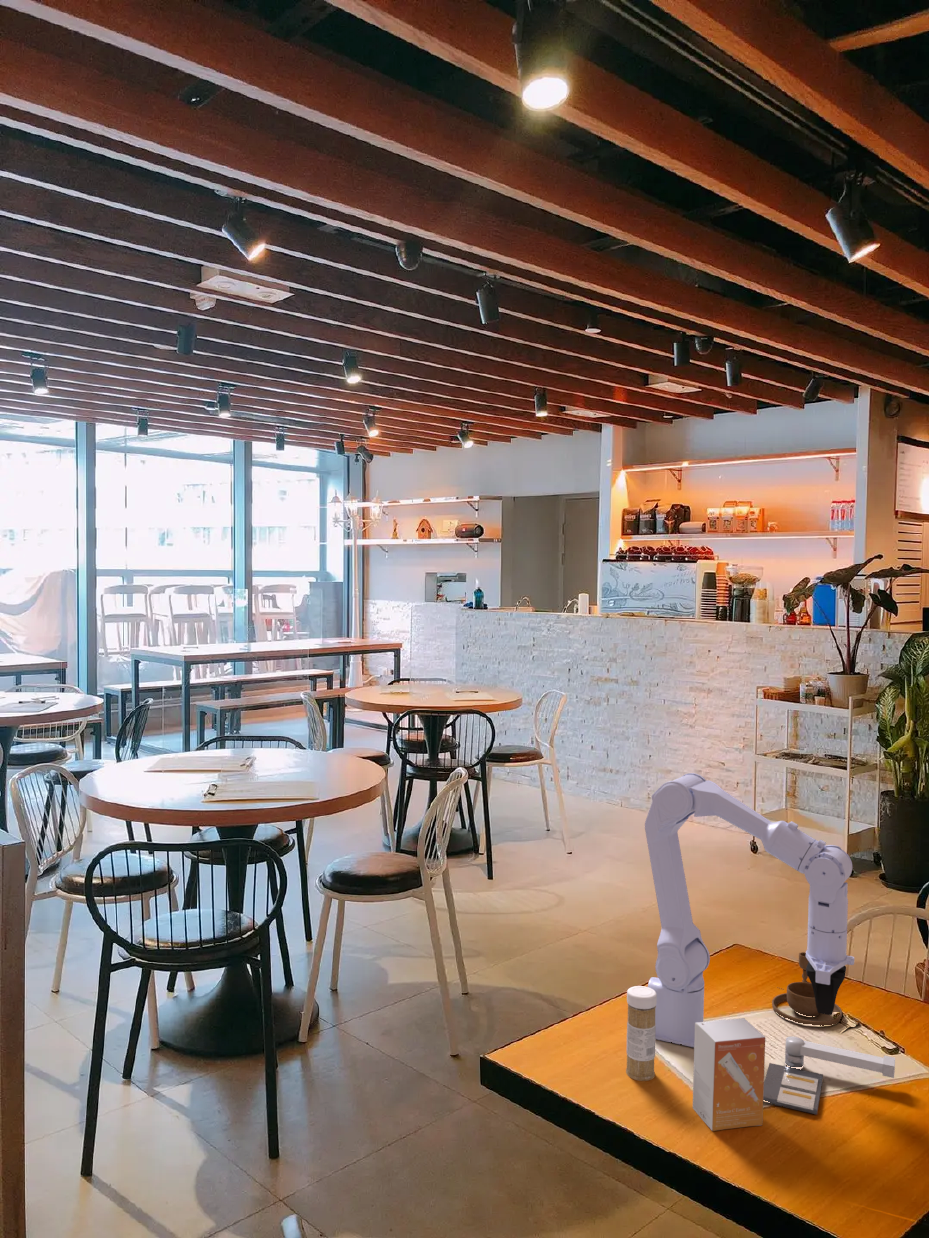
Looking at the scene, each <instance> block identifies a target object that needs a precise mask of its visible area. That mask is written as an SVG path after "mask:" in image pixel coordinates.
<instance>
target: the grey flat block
mask: <svg viewBox="0 0 929 1238" xmlns="http://www.w3.org/2000/svg"><path fill="white" fill-rule="evenodd" d="M784 1053H785V1054H784V1055H785V1056H784V1064H785V1063H786V1064H787V1065H788V1066H790V1067H786V1066H785V1065H781V1064H776V1063H771V1062H769V1064H768V1067H767V1071H766V1074H765V1076H764V1095H763V1100H765V1101H768V1102H770V1103H772V1104H771V1105H773V1104H775V1105H774V1106H778V1107H782V1106H783V1108H787V1109H791V1110H795V1111H800V1112H804V1113H808V1114H814V1115H816V1116H817V1115H818V1110H819V1104H820V1098H821V1092H822V1088H821V1086H822V1087H823V1082H822V1079H823V1080H824V1074H823V1073H819V1072H813V1071H810V1070H804V1069H801V1070H800V1069H796V1068H791V1067H802V1066H803V1065H804V1058H805V1056H803V1055H801V1056H794V1055H790V1054H788V1053H787V1052H786V1051H785V1052H784ZM804 1066H805V1065H804ZM804 1066H803V1067H804Z"/></svg>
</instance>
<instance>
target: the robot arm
mask: <svg viewBox="0 0 929 1238" xmlns="http://www.w3.org/2000/svg"><path fill="white" fill-rule="evenodd" d="M651 799H652V800H651V804H650V807H649V810H648V813H647V816H646V819H645V822H644V831H645V837H646V838H645V839H646V842H647V847H648V855H649V861H650V866H651V872H652V879H653V885H654V889H655V890H654V891H655V896H656V903H657V908H658V909H657V910H658V913H659V914H658V915H659V919H660V925H661V926H660V927H661V930H660V933H659V937H658V940H657V943H656V948H657V957H656V960H655V973H656V976H657V977H655V976H654V977H653V976H651V977H650V978H649V980H648V984H647V987H649V988H651V989H653V990H654V991H655V992H656V994H657V1004H656V1008H655V1024H656V1032H655V1040H658V1041H662V1042H668V1043H671V1042H672V1043H673V1044H675V1045H680V1044H682V1045H681V1046H685V1047H690V1048H694V1041H695V1023H696V1022H704V1011H705V1010H704V1007H705V980H704V976H703V975H704V972H705V970H707V968H709V965H710V960H711V957H710V952H709V949H708V947H707V946H706V944H705V942H704V940H703V938H702V934H701V930H700V929H699V928H698V926H696V925H695V924H694V922H693V916H692V910H691V902H690V898H689V897H690V896H689V892H688V887H687V881H686V880H687V879H686V874H685V868H684V862H683V858H682V857H683V856H682V851H681V846H680V840H679V838H680V837H679V834H678V833H679V832H678V831H679V830H680V829H681V827H682V826H683V825H684V824H685V823H686V822H687V821H688V819H689V817H691V816H692V815H693V816H694V818H698V817H699V818H701V817H715V816H716V817H719V818H720V819H722V820H724V821H726V822H727V823H730V824H731V825H734V826H735V827H737V828H738V829H740V830H743V831H744V832H745V833H748V834H750V835H751V836H753V837H755V838H757V839H759V840H760V841H761V843H762V846H763V849H764V851H765V852H766V853H767V854H770V855H771V856H773V858H776V859H778V860H779V861H780V862H782V863H784V864H786V865H787V866H789V867H790V868H792V869H794V870H795V871H797V872H799V873H800V874H802V875H803V874H804V878H805V879H806V882H807V883H808V884H809V894H808V911H807V912H808V914H807V942H806V943H807V948H806V950H805V953H806V958H807V960H808V961H809V962H808V965H807V967H806V973H807V976H808V978H807V979H809V981H810V982H809V983H811V984H812V987H813V991H814V996H815V1003H816V1008H817V1012H818V1013H821V1014H822V1015H827V1016H832V1015H833V1014H834V1013H833V1010H834V1005H835V1004H836V999H837V995H838V992H839V989H840V988H841V985H842V983H843V982H844V980H845V978H846V973H847V972H846V971H847V965H849V966H854V965H855V957H854V956H852V955H847V949H848V948H847V947H848V946H847V945H848V944H847V941H848V939H847V938H848V911H849V910H848V909H849V906H848V905H849V899H848V894H849V893H848V891H849V890H848V886H849V885H848V882H846V881H847V880H848V879H849V877H851V874H852V871H853V862H852V860H851V857H850V855H849V854H848V853H847V852H846V851H845V850H844V849H842V847H840V846H839V845H835V844H827V843H826V842H827V841H824V839H823V840H822V839H819V840H817V839H816V838H814V837H812V836H810V835H809V834H807V833H805V832H804V831H802V830H800V829H798V827H799V824H797V823H796V822H794V821H792V820H791V821H790V822H787V821H785V820H779V821H778V820H777V821H774V822H773V821H771V820H769V819H768V818H766V816H765V817H764V816H763V815H762V814H761V813H759V812H758V811H755V810H754V809H753V808H751V807H750V806H748V805H746V804H745V803H743V802H742V801H741V800H739V799H738V798H736V797H734V796H733V795H731V794H730V793H728V792H727V791H726V790H724V789H723V788H722V787H720V786H719V785H718V784H717V783H716V782H714V781H712V780H710V779H708V780H707V779H706V778H705V777H703V776H702V775H701V774H698V773H696V772H690V773H684V774H683V775H681V776H680V777H678V778H675V779H674V780H669V781H666V782H664V783H663V784H661V786H660V787H658V788H657V789H656V790H655V791H654V793H653V794H652V795H651Z"/></svg>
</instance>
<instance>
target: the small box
mask: <svg viewBox="0 0 929 1238" xmlns="http://www.w3.org/2000/svg"><path fill="white" fill-rule="evenodd" d="M765 1059H766V1036H765V1035H764V1034H763V1033H762V1032H761V1031H759V1030H758V1029H757V1028H756V1027H755V1026H754V1025H753V1024H751V1022H750V1021H748V1020H747V1019H746V1018H745V1017H742V1018H741V1017H740V1018H739V1017H738V1018H729V1019H726V1018H725V1019H715V1020H708V1021H703V1022H696V1023H695V1041H694V1047H693V1075H692V1077H693V1078H692V1079H693V1080H692V1084H693V1085H692V1109H693V1111H694V1112H695V1113H696V1114H697V1115H698V1117H699V1118H700V1119H701V1120H702V1121H703V1122H704V1123H705V1125H706V1126H707V1127H708V1128H709V1129H710V1130H711V1132H715V1131H720V1130H721V1131H722V1130H730V1129H737V1128H739V1129H740V1128H745V1127H747V1128H748V1127H758V1126H763V1121H764V1118H763V1117H764V1116H763V1115H764V1102H763V1095H764V1081H765V1065H766V1064H765V1063H766V1062H765V1061H766V1060H765Z"/></svg>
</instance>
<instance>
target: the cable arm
mask: <svg viewBox="0 0 929 1238" xmlns="http://www.w3.org/2000/svg"><path fill="white" fill-rule="evenodd" d="M785 1051H786V1052H787V1053H788V1054H790V1055H794V1056H801V1055H803V1056H804V1057H809V1058H813V1059H817V1060H822V1061H826V1062H832V1063H837V1064H839V1065H845V1066H848V1067H855V1068H857V1069H862V1070H867V1071H871V1072H876V1073H879V1074H882V1076H883V1077H887V1078H890V1079H891V1078H893V1079H894V1078H895V1072H896V1070H895V1069H896V1057H894V1056H893V1057H892V1056H889V1055H883V1057H881V1056H877V1055H872V1054H869V1053H863V1052H858V1051H854V1050H849V1049H844V1048H839V1047H835V1046H831V1045H826V1044H821V1043H817V1042H812V1041H807V1040H804V1039H803V1038H800V1037H799V1036H798V1037H797V1036H793V1035H792V1036H787V1037H786V1038H785Z"/></svg>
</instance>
